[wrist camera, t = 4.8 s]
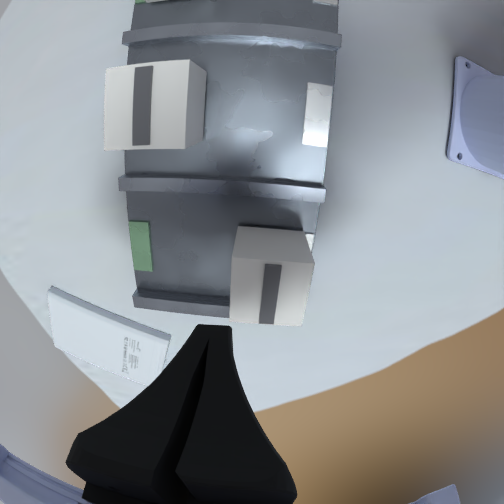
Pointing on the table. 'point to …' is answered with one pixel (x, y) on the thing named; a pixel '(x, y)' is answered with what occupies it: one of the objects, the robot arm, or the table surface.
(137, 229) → the panel
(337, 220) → the table surface
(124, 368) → the external hard drive
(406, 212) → the table surface
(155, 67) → the block
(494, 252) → the table surface
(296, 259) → the breaker
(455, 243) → the table surface
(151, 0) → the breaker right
